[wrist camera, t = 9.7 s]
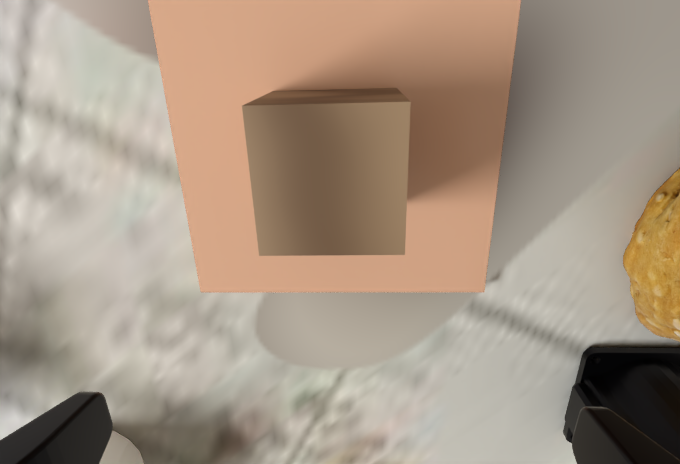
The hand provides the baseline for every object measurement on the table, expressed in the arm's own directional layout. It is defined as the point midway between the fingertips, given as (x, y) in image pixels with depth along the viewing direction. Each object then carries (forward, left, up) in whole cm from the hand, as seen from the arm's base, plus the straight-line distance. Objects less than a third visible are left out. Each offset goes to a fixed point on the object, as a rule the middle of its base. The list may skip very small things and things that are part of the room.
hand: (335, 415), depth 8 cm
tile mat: (+1, -2, -13) cm, 13 cm away
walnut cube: (+1, -2, -12) cm, 12 cm away
